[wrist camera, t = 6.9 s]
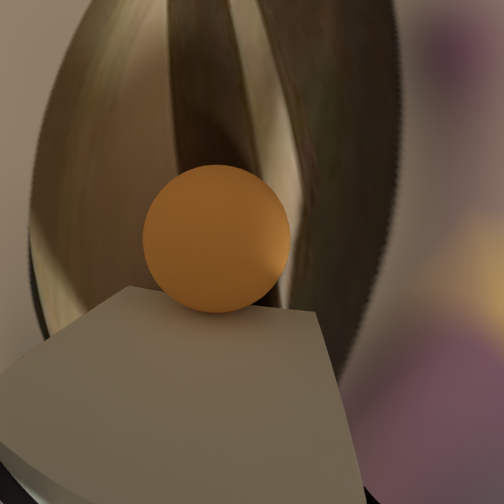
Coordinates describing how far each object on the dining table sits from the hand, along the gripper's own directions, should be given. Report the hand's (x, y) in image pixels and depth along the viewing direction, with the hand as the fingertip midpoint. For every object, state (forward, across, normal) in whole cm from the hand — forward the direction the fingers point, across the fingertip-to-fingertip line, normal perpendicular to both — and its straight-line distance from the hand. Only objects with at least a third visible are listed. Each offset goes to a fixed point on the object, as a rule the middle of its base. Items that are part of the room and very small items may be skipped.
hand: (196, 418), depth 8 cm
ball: (+2, 0, -6) cm, 7 cm away
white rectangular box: (+3, 0, 0) cm, 3 cm away
